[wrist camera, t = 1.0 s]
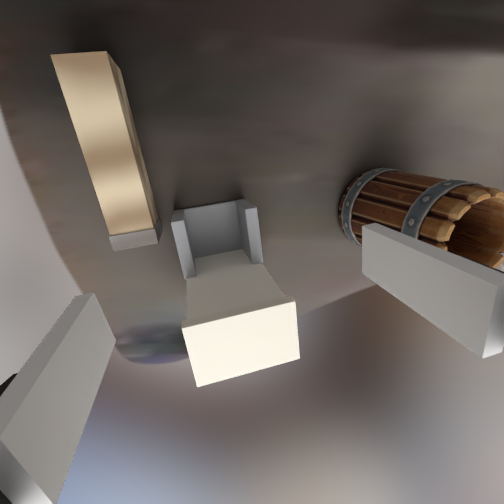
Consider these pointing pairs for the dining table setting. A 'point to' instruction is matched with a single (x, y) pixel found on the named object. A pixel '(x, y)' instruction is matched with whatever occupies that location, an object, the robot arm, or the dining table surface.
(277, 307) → the u-notched block
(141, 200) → the rail
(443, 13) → the dining table surface
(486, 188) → the mug
